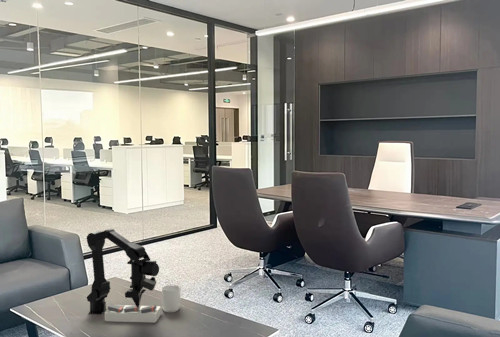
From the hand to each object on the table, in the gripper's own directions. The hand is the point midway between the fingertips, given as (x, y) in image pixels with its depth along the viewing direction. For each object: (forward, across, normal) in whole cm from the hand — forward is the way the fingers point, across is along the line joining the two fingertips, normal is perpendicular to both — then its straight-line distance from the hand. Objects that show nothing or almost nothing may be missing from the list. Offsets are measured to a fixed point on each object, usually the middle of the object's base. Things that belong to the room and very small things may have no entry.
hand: (137, 306), depth 202 cm
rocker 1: (+2, 0, +11) cm, 11 cm away
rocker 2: (+2, 0, +3) cm, 3 cm away
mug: (+7, +15, -13) cm, 21 cm away
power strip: (+6, +2, +3) cm, 7 cm away
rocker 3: (+2, 0, -5) cm, 5 cm away
